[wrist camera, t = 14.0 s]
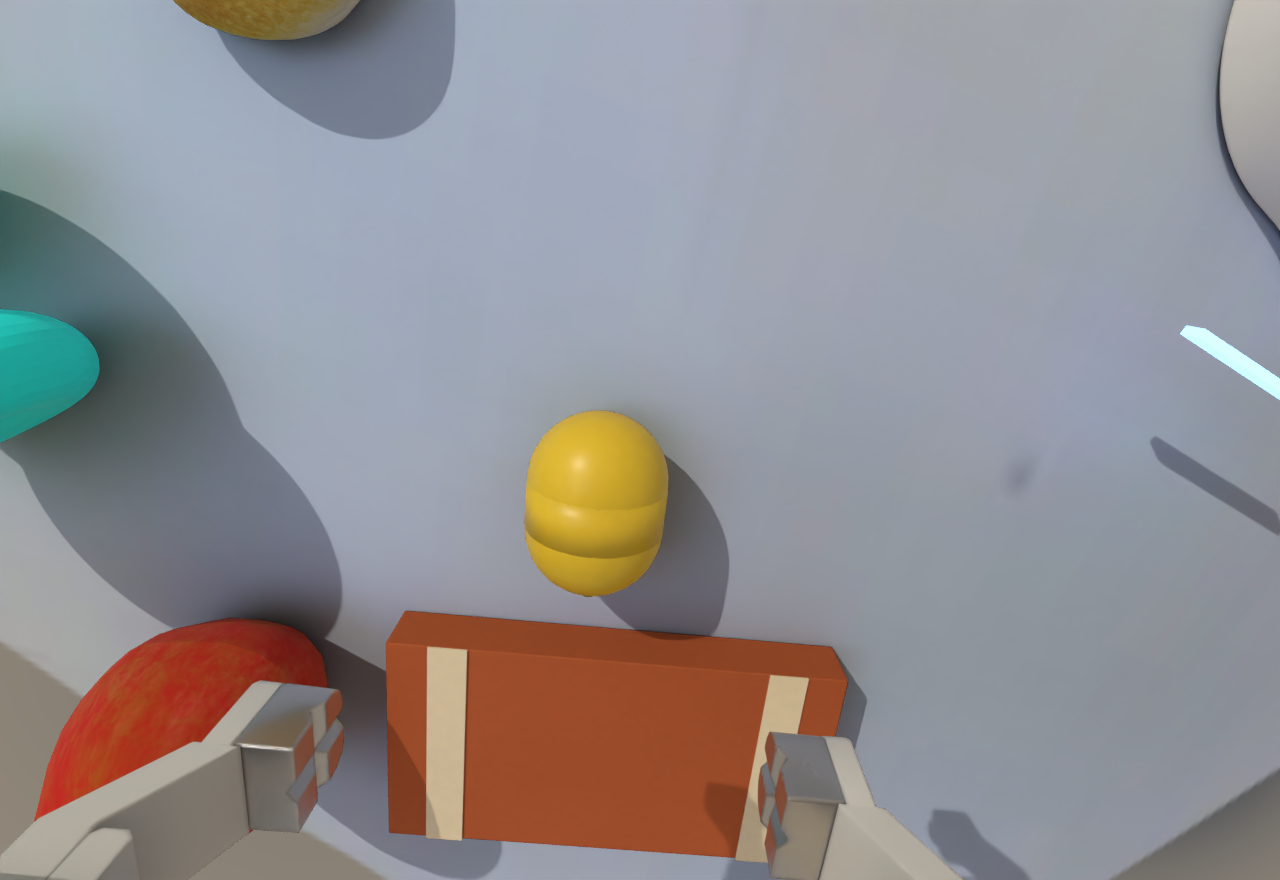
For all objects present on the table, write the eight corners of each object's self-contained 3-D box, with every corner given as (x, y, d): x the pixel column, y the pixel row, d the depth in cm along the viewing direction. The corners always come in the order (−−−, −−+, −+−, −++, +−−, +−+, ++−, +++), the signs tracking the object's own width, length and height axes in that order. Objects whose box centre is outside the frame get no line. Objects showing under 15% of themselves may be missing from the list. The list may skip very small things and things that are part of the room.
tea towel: (832, 646, 30) (849, 682, 27) (793, 819, 33) (806, 865, 30) (405, 609, 29) (384, 644, 27) (405, 790, 32) (387, 835, 30)
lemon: (524, 391, 25) (540, 434, 21) (654, 397, 27) (697, 437, 22) (515, 564, 28) (526, 638, 23) (635, 560, 29) (670, 630, 24)
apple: (308, 551, 28) (121, 735, 18) (393, 703, 31) (272, 942, 20) (139, 608, 29) (-131, 815, 19) (235, 752, 31) (42, 1006, 21)
